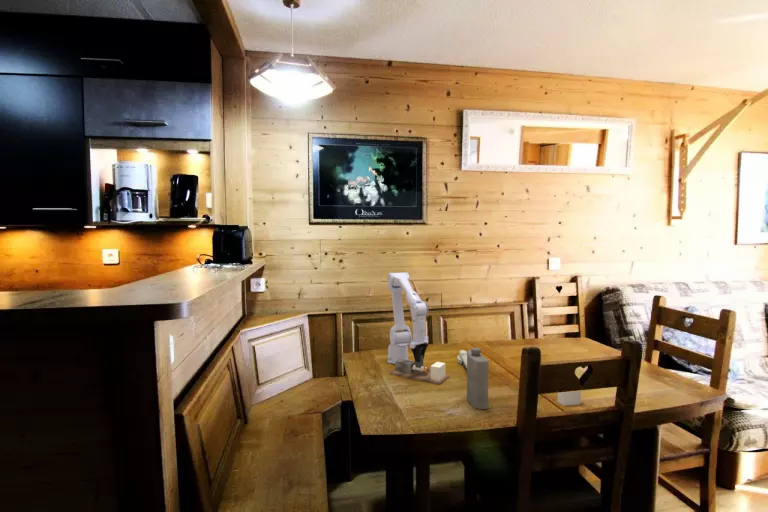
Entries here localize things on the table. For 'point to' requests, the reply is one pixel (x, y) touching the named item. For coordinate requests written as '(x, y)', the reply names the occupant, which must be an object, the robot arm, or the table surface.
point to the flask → (477, 379)
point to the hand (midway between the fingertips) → (419, 360)
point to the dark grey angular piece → (420, 366)
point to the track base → (413, 372)
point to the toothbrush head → (462, 358)
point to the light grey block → (569, 398)
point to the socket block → (438, 371)
